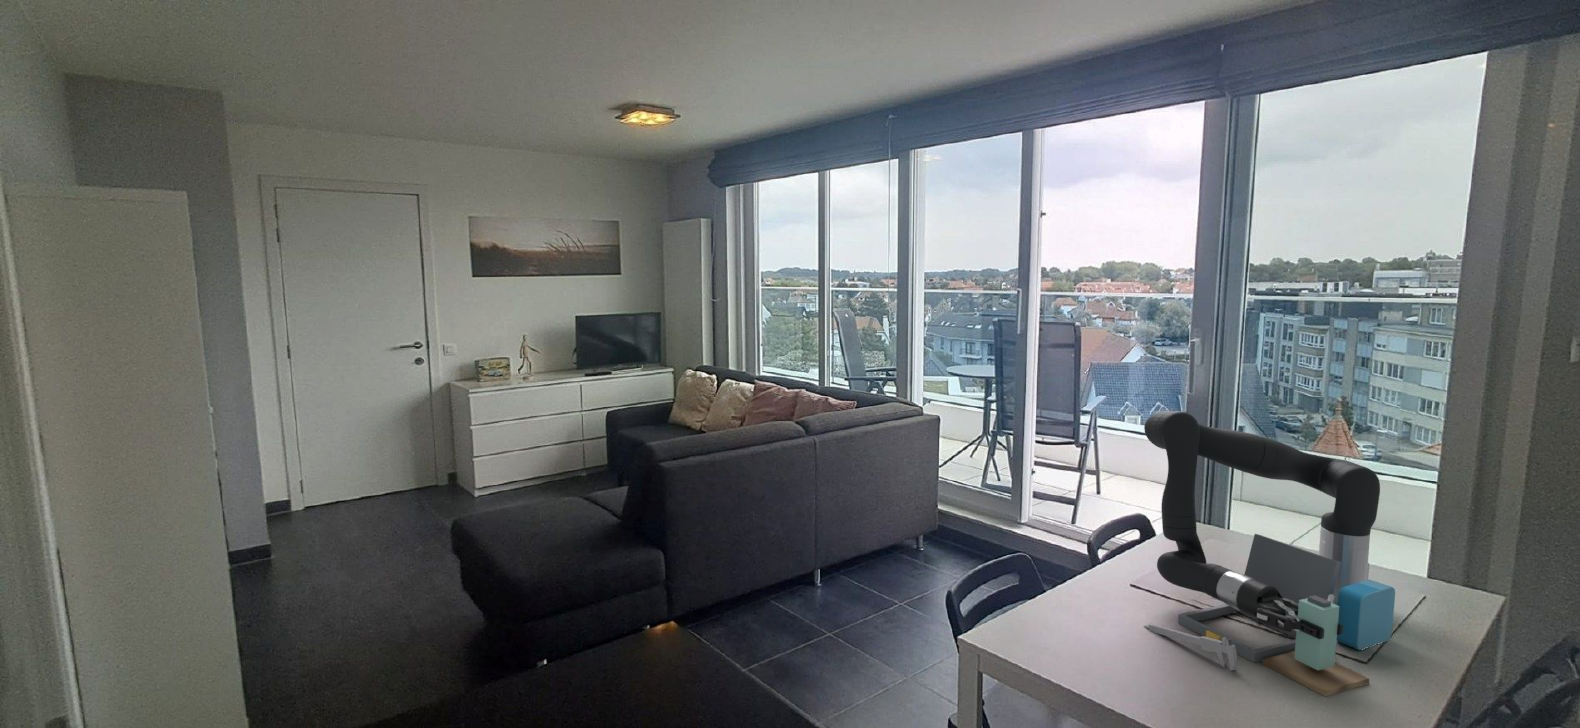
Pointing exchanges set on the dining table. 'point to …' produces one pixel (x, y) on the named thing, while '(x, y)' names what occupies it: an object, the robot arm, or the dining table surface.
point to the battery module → (1309, 647)
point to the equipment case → (1288, 574)
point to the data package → (1365, 613)
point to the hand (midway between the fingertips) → (1331, 631)
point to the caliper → (1203, 644)
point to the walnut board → (1316, 674)
